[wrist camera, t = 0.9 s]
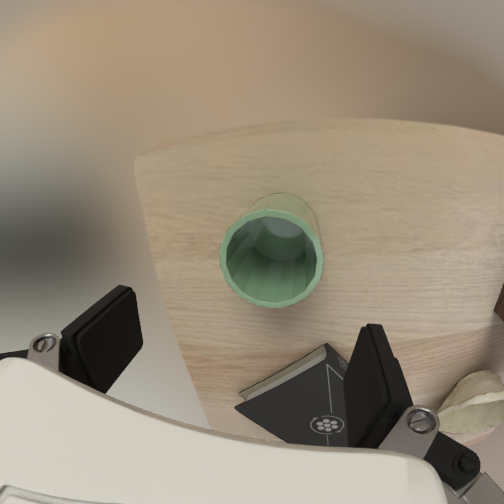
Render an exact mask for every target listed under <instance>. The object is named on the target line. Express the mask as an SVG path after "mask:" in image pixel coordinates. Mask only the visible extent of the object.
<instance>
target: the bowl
mask: <svg viewBox="0 0 504 504" xmlns="http://www.w3.org/2000/svg"><path fill="white" fill-rule="evenodd" d="M436 414H437V415H438V418H439V420H440V427H439V430H438V431H440V432H448V433H475V432H479V431H481V430H484V429H487V428H491V427H494V426H496V425H498V424H499V423H501V422H502V421H504V384H502V383H501V381H500V377H499V376H498V375H497V374H496V373H494V372H493V371H490V370H483V371H479V372H474V373H471V374H469V375H467V376H466V377H464V378H463V379H461V380H460V381H459V382H458V383H457V385H456V386H455V388H454V389H453V391H452V392H451V393H450V395H449V396H448V397H447V398H446V399H445V401H444V402H443V404H442V406H441V407H440V408H439V410H438V411H437V412H436Z"/></svg>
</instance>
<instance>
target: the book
mask: <svg viewBox="0 0 504 504" xmlns="http://www.w3.org/2000/svg"><path fill="white" fill-rule="evenodd" d="M347 367H348V363H347V362H346V361H345V360H344V359H343V358H342V357H341V356H340V355H339V354H338V353H337V352H336V351H335V350H334V349H333V348H332V347H331V346H330V345H329V344H328V343H326V344H324V345H322V346H321V347H319V348H318V349H316V350H314V351H313V352H311V353H310V354H308V355H306V356H305V357H303V358H301V359H300V360H298V361H296V362H295V363H293V364H291V365H290V366H288V367H286V368H284V369H283V370H281V371H279V372H277V373H276V374H274V375H272V376H270V377H268V378H267V379H265V380H263V381H261V382H259V383H257V384H255V385H253V386H252V387H250V388H248V389H246V390H244V391H242V392H240V393H239V395H241V396H242V397H243V398H245V399H246V401H245V402H243V403H241V404H239V405H236V406H235V407H234V409H236V410H237V411H238V412H240V413H241V414H243V415H244V416H246V417H247V418H249V419H250V420H252V421H253V422H255V423H256V424H258V425H259V426H261V427H262V428H264V429H265V430H267V431H269V432H270V433H272V434H273V435H275V436H277V437H278V438H280V439H282V440H283V441H285V442H287V443H290V444H300V445H311V446H326V447H348V436H347V422H346V410H345V399H344V389H343V379H344V375H345V372H346V370H347Z"/></svg>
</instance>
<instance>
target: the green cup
mask: <svg viewBox="0 0 504 504" xmlns="http://www.w3.org/2000/svg"><path fill="white" fill-rule="evenodd" d="M323 264H324V254H323V249H322V243H321V238H320V233H319V228H318V224H317V220H316V217H315V214H314V213H313V211H312V209H311V208H310V207H309V205H308V204H307V203H306V202H304V201H303V200H302V199H300V198H298V197H296V196H294V195H291V194H286V193H275V194H271V195H268V196H265V197H263V198H261V199H260V200H259V201H258V202H257V203H255V204H254V205H253V206H252V207H251V208H250V209H249V210H247V211H246V212H245V213H244V214H243V215H242V216H241V217H240V218H239V219H238V220H237V221H236V222H235V223H234V224H233V225H232V226H231V227H230V228H229V229H228V231H227V233H226V235H225V237H224V239H223V241H222V243H221V246H220V267H221V269H222V272H223V274H224V277H225V280H226V282H227V283H228V285H229V286H230V287H231V288H232V289H233V290H234V291H235V292H236V293H237V295H238V296H240V297H241V298H243V299H245V300H247V301H248V302H250V303H252V304H254V305H257V306H262V307H269V308H280V307H285V306H290V305H294V304H296V303H297V302H299V301H301V300H302V299H304V298H305V297H307V296H308V295H310V294H311V292H312V291H313V289H314V288H315V286H316V285H317V284H318V282H319V281H320V279H321V276H322V270H323Z"/></svg>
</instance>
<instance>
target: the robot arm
mask: <svg viewBox="0 0 504 504" xmlns="http://www.w3.org/2000/svg"><path fill="white" fill-rule="evenodd" d="M61 334H62V338H61V339H59V337H58V336H57V335H55V334H52V333H44V334H41V335H38V336H37V337H35V338H34V339H33V340H32V341H31V343H30V346H29V349H28V350H21V351H15V352H7V353H1V354H0V504H504V492H503V491H502V490H501V489H500V487H499V486H498V485H497V484H496V483H495V482H494V481H493V480H492V479H491V478H490V477H489V476H488V474H487V473H486V472H483V473H481V472H480V460H479V457H478V456H477V454H476V453H474V452H473V451H472V450H470V449H468V448H467V447H465V446H463V445H462V444H460V443H458V442H456V441H455V440H453V439H451V438H450V437H448V436H446V435H445V434H443V433H441V432H440V431H438V430H439V427H440V420H439V418H438V415H437V414H436V413H435V412H434V411H433V410H432V409H430V408H429V407H426V406H423V405H413V402H412V399H411V396H410V393H409V390H408V387H407V384H406V381H405V378H404V375H403V372H402V370H401V367H400V364H399V361H398V359H397V358H395V357H394V356H393V353H392V350H391V348H390V345H389V342H388V340H387V337H386V334H385V332H384V329H383V327H382V325H380V324H367V325H366V327H362V328H361V330H360V333H359V336H358V339H357V342H356V345H355V348H354V351H353V353H352V356H351V359H350V362H349V364H348V367H347V370H346V372H345V375H344V379H343V389H344V399H345V410H346V422H347V436H348V447H326V446H311V445H300V444H290V443H281V442H273V441H266V440H260V439H253V438H248V437H242V436H237V435H232V434H227V433H223V432H218V431H214V430H210V429H205V428H201V427H198V426H194V425H190V424H186V423H183V422H180V421H176V420H173V419H170V418H167V417H164V416H161V415H158V414H155V413H152V412H149V411H146V410H143V409H141V408H138V407H135V406H133V405H130V404H127V403H125V402H122V401H120V400H118V399H115V398H113V397H111V396H108V395H106V394H105V393H107V391H108V390H109V389H110V387H111V386H112V385H113V383H114V382H115V381H116V380H117V378H118V377H119V376H120V374H121V373H122V372H123V371H124V369H125V368H126V367H127V366H128V364H129V363H130V362H131V360H132V359H133V358H134V357H135V356H136V354H137V353H138V352H139V351H140V349H141V348H142V345H143V338H142V333H141V326H140V321H139V314H138V307H137V300H136V294H135V292H134V291H133V290H132V288H131V287H127V286H123V285H118V286H117V287H116V288H114V289H113V290H112V291H110V292H109V293H108V294H107V295H105V296H104V297H103V298H101V299H100V300H99V301H98V302H97V303H95V304H94V305H93V306H91V307H90V308H89V309H88V310H86V311H85V312H84V313H83V314H81V315H80V316H79V317H78V318H76V319H75V320H74V321H73V322H72V323H71V324H69V325H68V326H67V327H66V328H64V329H63V330H62V331H61Z"/></svg>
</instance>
